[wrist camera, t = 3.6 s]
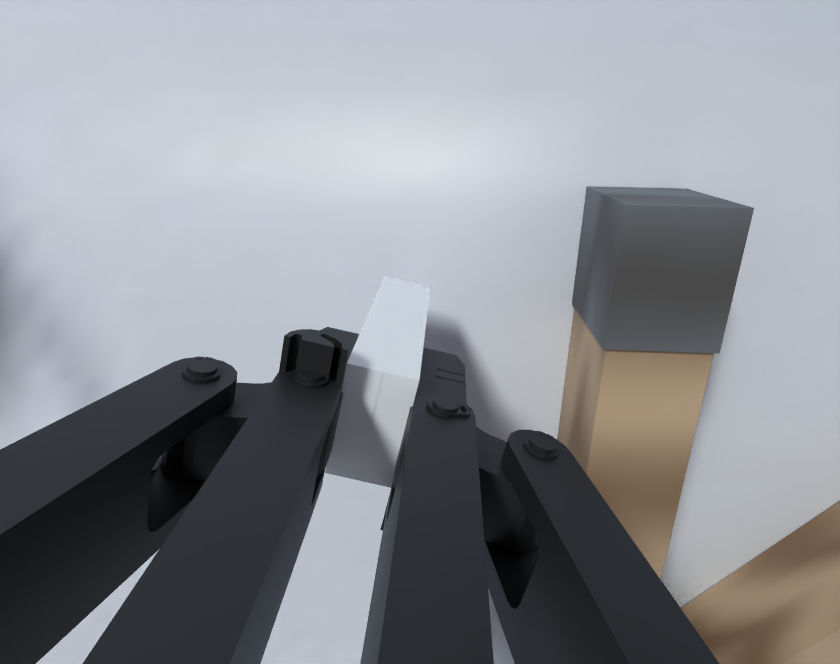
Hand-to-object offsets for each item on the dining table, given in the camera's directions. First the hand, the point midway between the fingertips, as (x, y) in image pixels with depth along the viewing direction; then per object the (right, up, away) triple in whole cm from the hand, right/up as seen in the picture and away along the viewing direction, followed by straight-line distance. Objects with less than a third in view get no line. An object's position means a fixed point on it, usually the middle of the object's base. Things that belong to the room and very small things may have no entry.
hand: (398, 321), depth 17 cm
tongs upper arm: (+9, -6, +4) cm, 12 cm away
